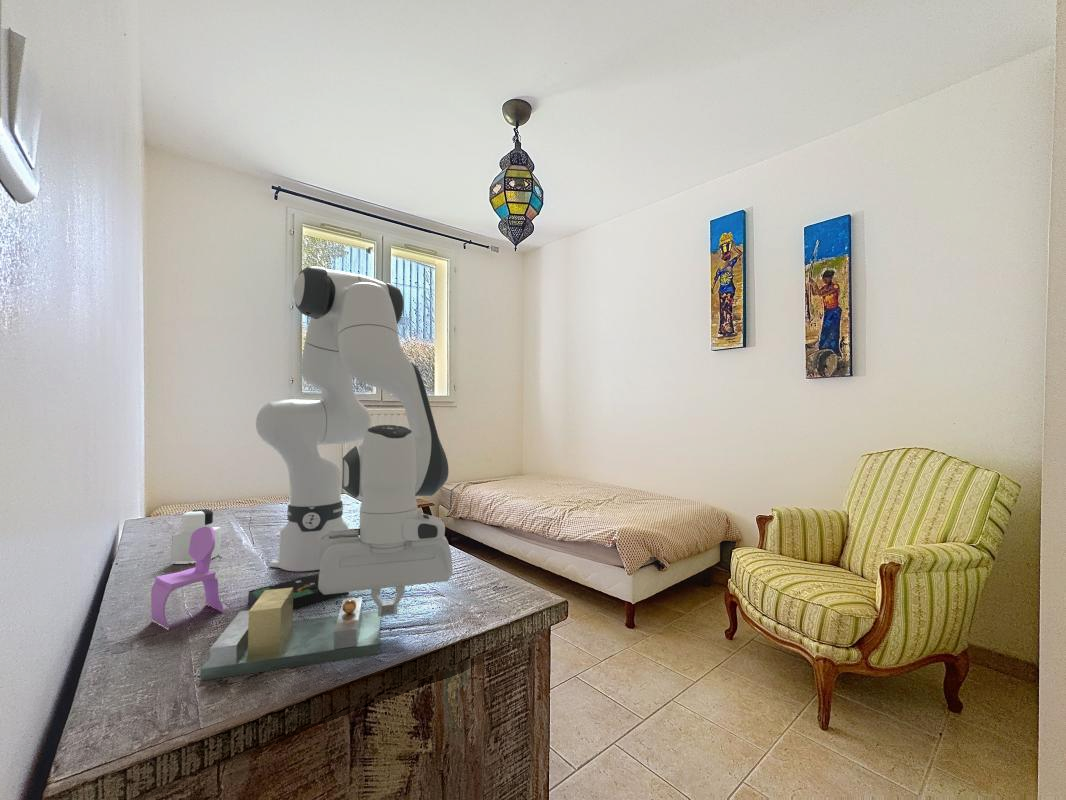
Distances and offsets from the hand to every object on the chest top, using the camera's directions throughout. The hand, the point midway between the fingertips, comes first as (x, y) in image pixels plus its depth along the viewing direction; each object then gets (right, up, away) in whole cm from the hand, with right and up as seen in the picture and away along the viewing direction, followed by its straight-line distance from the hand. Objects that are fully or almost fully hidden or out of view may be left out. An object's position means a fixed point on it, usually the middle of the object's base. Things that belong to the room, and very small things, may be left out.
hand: (387, 614), depth 71 cm
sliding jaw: (-5, -1, -2) cm, 6 cm away
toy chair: (-37, -4, +6) cm, 37 cm away
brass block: (-16, -1, -5) cm, 16 cm away
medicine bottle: (-59, -5, +38) cm, 70 cm away
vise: (-12, -3, -4) cm, 13 cm away
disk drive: (-22, -5, +14) cm, 26 cm away
